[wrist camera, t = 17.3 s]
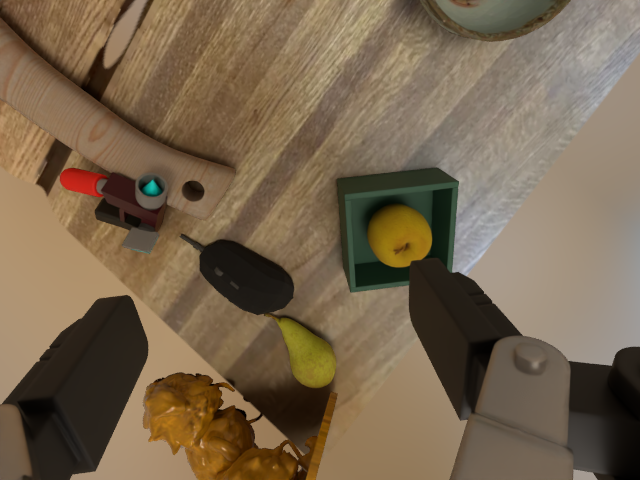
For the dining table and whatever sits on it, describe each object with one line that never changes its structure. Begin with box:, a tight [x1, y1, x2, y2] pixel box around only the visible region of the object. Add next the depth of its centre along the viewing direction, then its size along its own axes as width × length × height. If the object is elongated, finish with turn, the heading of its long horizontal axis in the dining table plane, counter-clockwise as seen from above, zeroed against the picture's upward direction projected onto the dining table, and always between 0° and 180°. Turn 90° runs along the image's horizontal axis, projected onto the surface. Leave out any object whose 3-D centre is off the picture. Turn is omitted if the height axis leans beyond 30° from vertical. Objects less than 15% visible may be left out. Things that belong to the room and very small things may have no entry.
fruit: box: [264, 313, 336, 388], centre depth 47 cm, size 6×6×12 cm
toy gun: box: [60, 168, 168, 254], centre depth 34 cm, size 10×12×5 cm
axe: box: [0, 18, 236, 220], centre depth 32 cm, size 18×5×30 cm
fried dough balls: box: [143, 372, 338, 480], centre depth 47 cm, size 22×23×25 cm
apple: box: [367, 203, 432, 267], centre depth 39 cm, size 6×6×8 cm
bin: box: [337, 168, 459, 292], centre depth 41 cm, size 11×11×6 cm
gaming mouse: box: [180, 234, 294, 315], centre depth 42 cm, size 6×15×4 cm, turn 52°
